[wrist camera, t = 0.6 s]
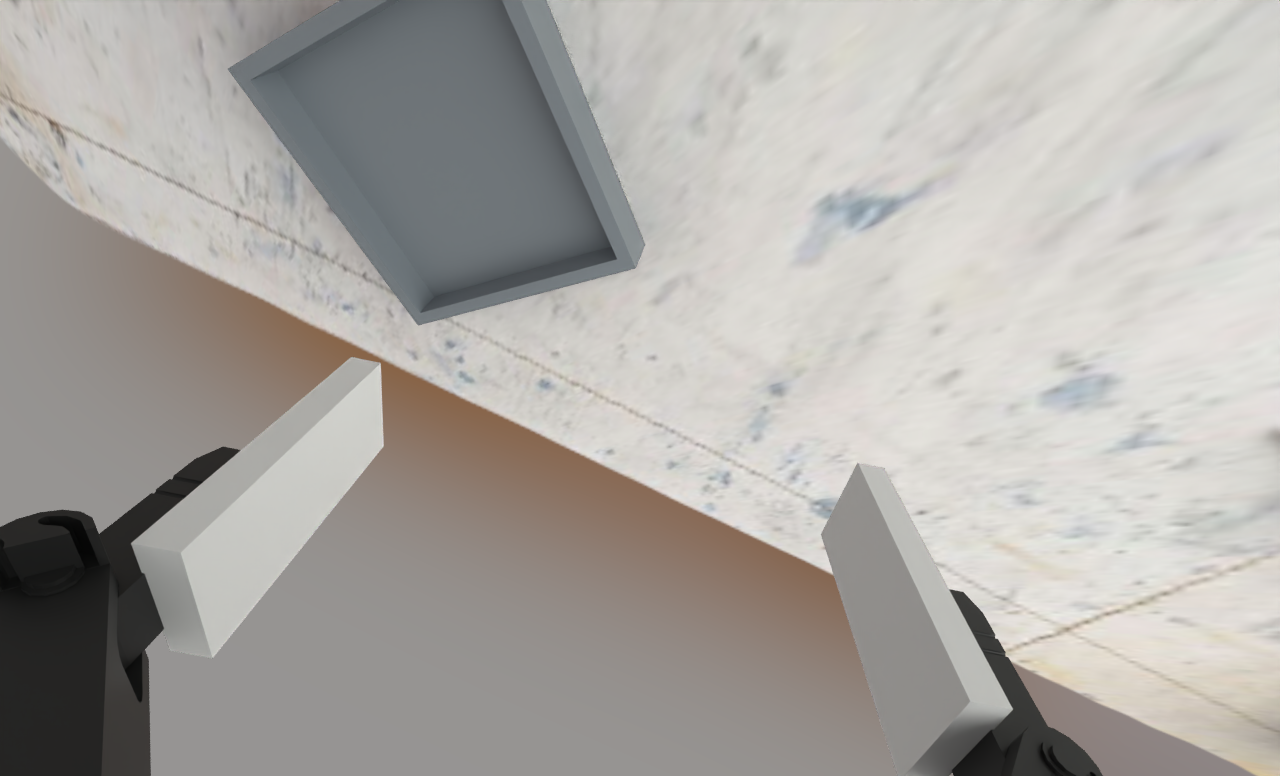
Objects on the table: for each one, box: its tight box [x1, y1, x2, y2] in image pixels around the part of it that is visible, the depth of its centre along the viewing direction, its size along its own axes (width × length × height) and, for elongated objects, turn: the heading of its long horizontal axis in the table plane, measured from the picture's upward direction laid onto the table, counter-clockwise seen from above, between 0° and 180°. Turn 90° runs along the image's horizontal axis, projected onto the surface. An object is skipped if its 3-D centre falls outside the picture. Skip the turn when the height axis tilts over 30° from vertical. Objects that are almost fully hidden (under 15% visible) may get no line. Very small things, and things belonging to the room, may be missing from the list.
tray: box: [228, 0, 645, 325], centre depth 37 cm, size 20×20×4 cm
